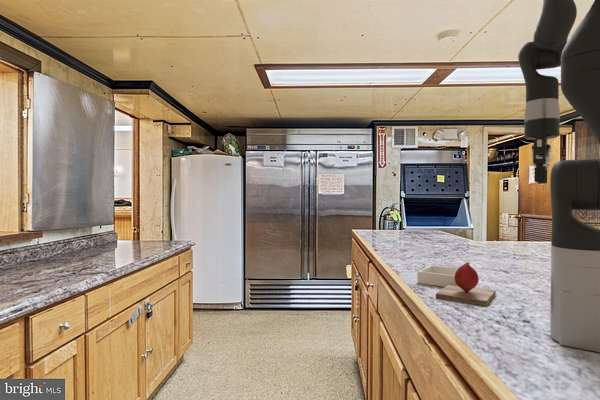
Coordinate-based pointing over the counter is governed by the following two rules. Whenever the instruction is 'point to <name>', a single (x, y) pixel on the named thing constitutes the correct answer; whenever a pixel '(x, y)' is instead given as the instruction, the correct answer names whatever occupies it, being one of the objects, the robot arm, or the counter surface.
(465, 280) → the onion
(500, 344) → the counter surface
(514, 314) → the counter surface
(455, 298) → the board
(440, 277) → the shallow wooden tray
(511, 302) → the counter surface
